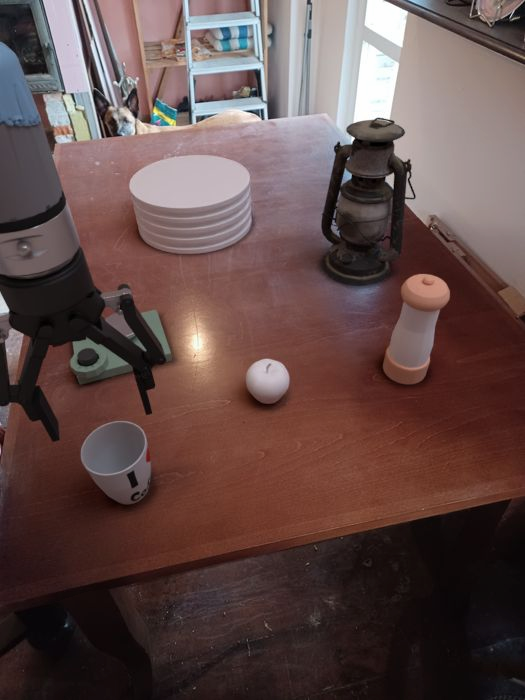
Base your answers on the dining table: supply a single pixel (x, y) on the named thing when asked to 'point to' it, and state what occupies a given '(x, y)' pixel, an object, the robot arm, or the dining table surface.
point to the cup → (118, 460)
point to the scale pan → (120, 325)
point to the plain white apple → (267, 380)
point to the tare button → (87, 357)
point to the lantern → (365, 204)
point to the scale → (108, 360)
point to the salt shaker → (415, 328)
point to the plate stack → (192, 203)
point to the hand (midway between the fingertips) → (102, 418)
